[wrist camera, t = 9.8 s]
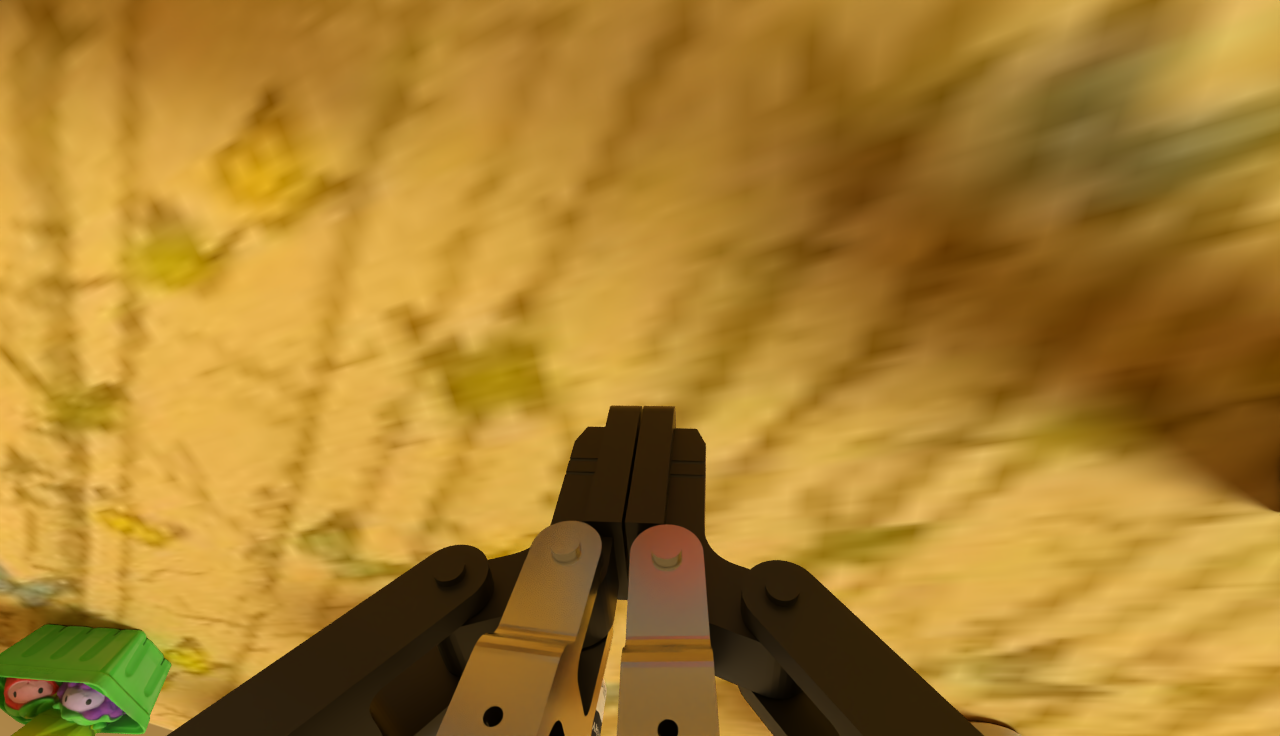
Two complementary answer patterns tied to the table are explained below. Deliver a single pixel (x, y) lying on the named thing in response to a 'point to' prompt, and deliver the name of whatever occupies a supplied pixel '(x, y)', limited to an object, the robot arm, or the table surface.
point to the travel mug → (993, 729)
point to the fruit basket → (81, 681)
